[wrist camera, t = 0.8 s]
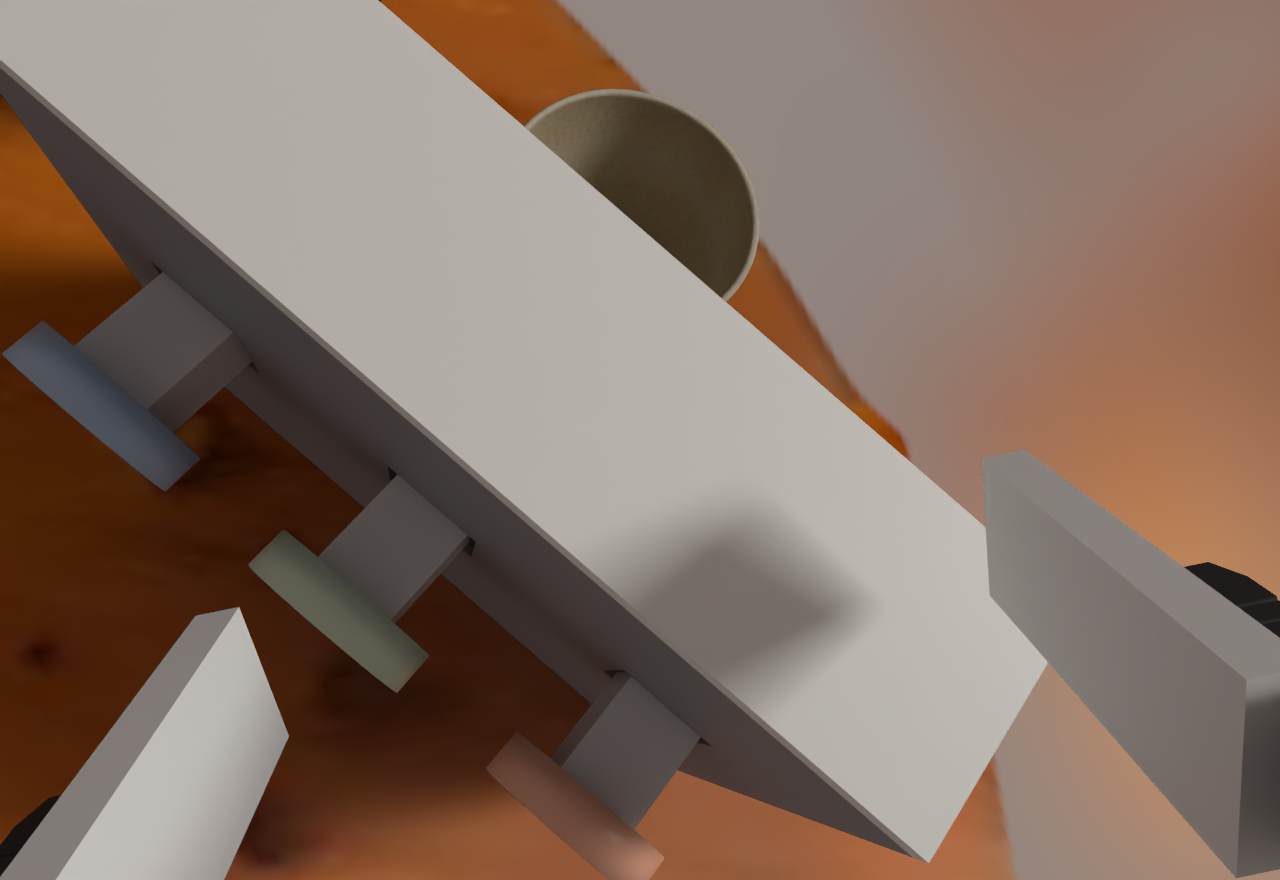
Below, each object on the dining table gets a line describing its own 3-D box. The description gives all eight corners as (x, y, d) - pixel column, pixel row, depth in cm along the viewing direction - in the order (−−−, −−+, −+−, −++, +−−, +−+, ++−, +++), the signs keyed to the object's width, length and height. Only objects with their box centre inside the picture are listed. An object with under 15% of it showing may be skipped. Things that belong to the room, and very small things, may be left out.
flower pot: (736, 359, 41) (797, 297, 35) (524, 416, 39) (545, 360, 32) (665, 164, 43) (709, 68, 36) (457, 204, 40) (463, 109, 33)
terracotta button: (613, 876, 26) (655, 920, 21) (480, 760, 26) (492, 779, 21) (702, 753, 27) (759, 769, 23) (575, 643, 27) (606, 636, 23)
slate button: (185, 506, 26) (131, 468, 21) (51, 390, 26) (-34, 325, 21) (295, 401, 27) (268, 343, 23) (168, 291, 27) (113, 210, 22)
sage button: (399, 691, 26) (393, 694, 21) (266, 575, 26) (229, 553, 21) (499, 578, 27) (514, 556, 23) (372, 467, 27) (360, 424, 23)
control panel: (659, 763, 36) (928, 863, 17) (200, 365, 36) (-67, 1, 17) (747, 644, 38) (1079, 609, 19) (311, 266, 38) (190, -164, 19)
